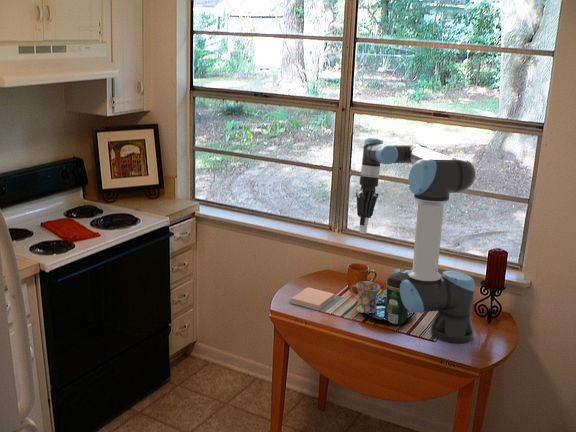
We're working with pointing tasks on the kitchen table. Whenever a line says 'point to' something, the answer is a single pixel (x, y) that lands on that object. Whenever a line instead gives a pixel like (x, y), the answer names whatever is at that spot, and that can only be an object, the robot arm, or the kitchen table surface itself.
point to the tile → (312, 298)
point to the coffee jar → (395, 300)
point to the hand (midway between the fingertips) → (362, 233)
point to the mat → (328, 305)
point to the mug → (366, 296)
